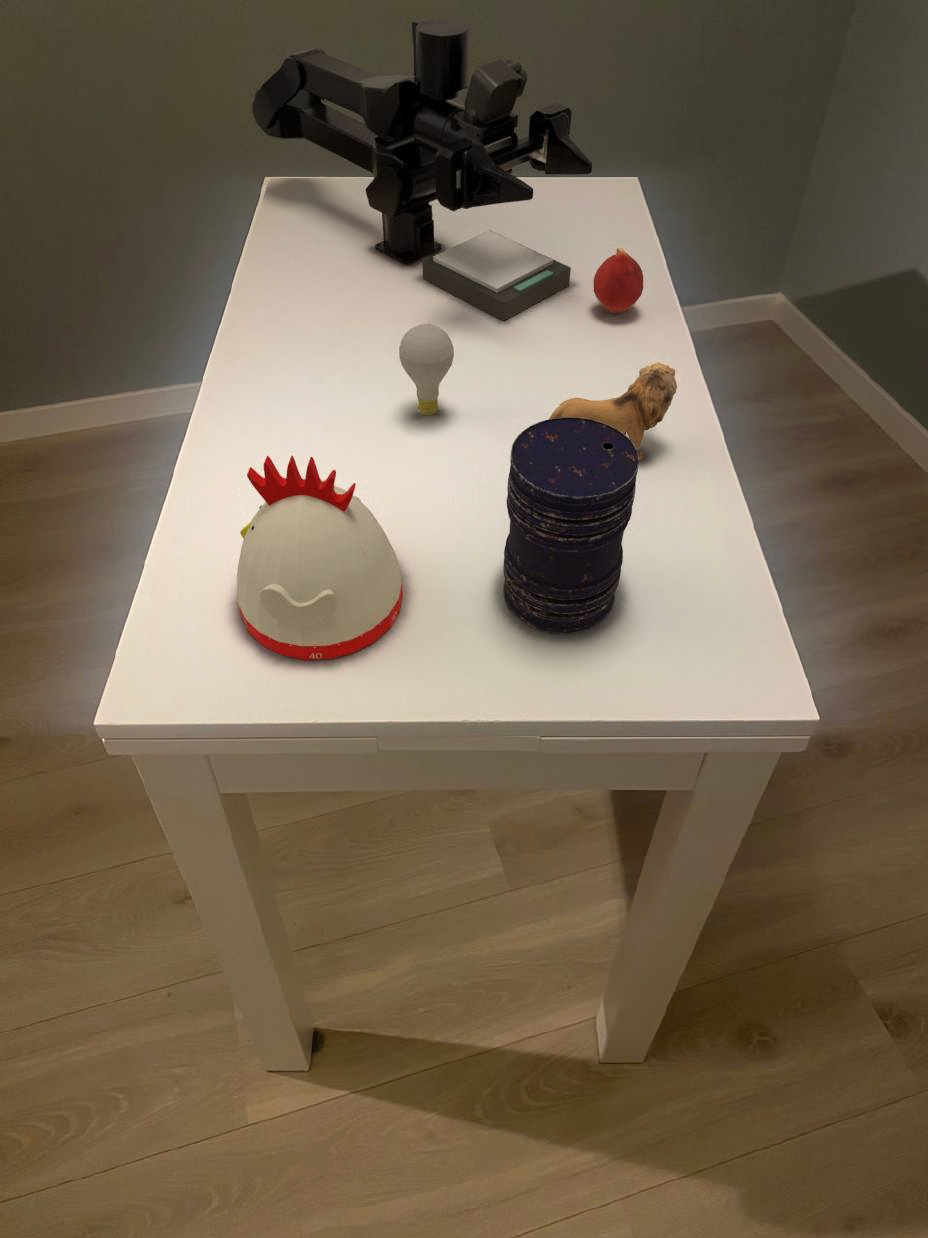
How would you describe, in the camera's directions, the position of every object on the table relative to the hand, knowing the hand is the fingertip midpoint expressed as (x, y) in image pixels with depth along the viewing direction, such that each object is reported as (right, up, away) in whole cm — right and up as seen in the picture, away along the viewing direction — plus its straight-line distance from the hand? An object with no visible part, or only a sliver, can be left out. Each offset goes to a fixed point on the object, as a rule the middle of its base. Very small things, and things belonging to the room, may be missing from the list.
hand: (562, 181), depth 98 cm
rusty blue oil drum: (-2, -44, -17) cm, 47 cm away
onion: (+8, -9, +14) cm, 19 cm away
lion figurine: (+4, -29, -4) cm, 30 cm away
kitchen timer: (-23, -44, -17) cm, 53 cm away
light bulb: (-14, -24, +1) cm, 28 cm away
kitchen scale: (-6, -4, +19) cm, 20 cm away
